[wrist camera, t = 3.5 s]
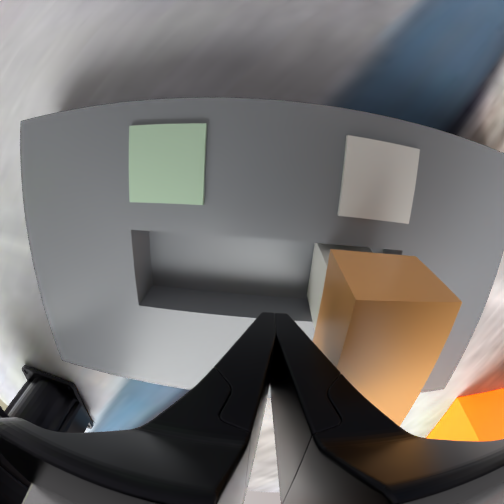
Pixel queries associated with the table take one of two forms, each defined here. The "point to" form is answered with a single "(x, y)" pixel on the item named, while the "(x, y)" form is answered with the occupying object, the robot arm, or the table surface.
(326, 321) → the lever
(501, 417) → the orange juice
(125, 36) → the table surface
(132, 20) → the table surface
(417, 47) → the table surface
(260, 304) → the breaker box
